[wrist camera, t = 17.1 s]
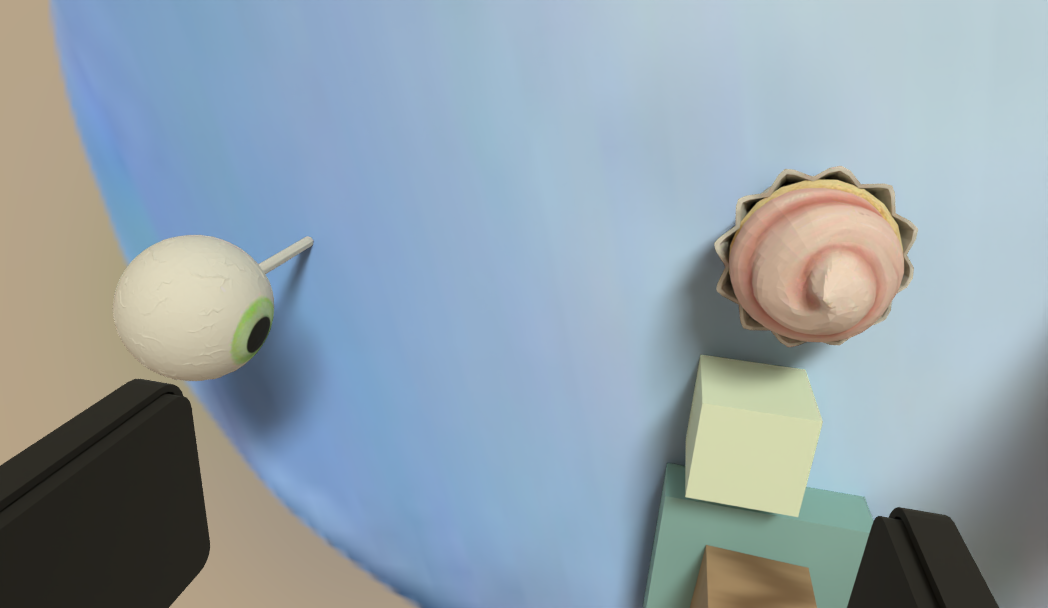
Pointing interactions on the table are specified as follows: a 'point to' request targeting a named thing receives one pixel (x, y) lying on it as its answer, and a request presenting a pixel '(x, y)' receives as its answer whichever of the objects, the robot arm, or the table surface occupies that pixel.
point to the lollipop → (196, 306)
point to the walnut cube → (750, 582)
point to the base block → (756, 541)
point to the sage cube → (751, 435)
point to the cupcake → (816, 257)
